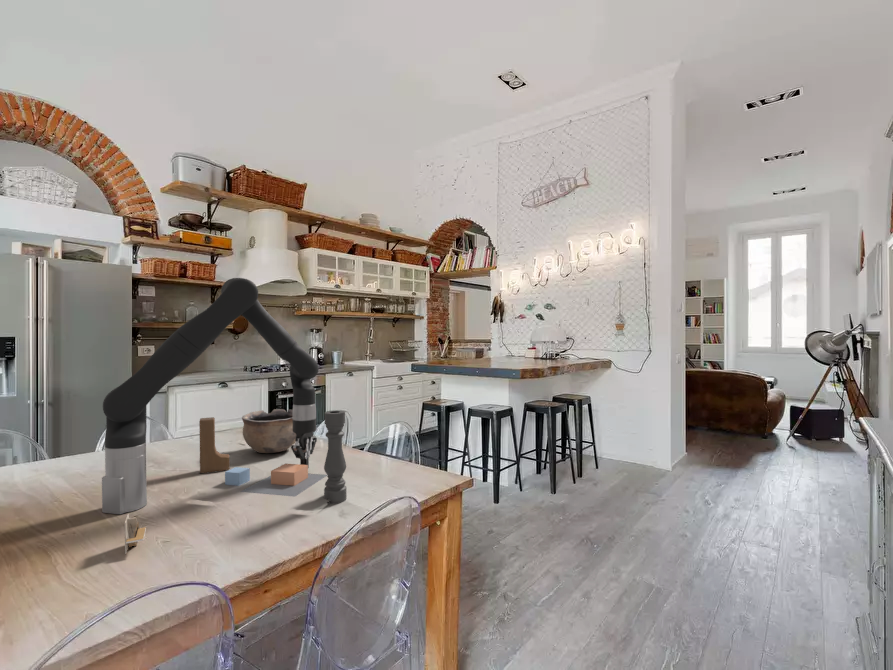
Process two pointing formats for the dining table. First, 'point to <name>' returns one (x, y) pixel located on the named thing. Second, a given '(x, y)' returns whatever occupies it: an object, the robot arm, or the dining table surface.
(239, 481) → the blue cube
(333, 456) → the candle holder
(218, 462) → the wooden block
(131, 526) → the architectural model
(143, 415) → the robot arm
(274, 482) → the terracotta block
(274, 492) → the letter board
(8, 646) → the dining table surface
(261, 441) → the ceramic bowl
